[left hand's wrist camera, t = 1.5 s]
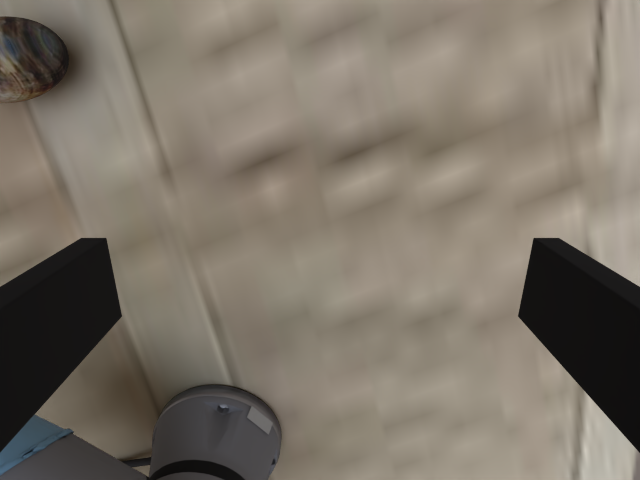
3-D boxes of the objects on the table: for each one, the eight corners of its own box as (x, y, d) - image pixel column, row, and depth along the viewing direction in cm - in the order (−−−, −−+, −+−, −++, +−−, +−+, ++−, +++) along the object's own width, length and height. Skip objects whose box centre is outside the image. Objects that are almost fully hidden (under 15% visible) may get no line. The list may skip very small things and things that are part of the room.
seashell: (10, 114, 36) (-73, 120, 28) (-27, 47, 34) (-127, 35, 26) (104, 81, 35) (44, 79, 27) (72, 10, 33) (-3, -14, 25)
